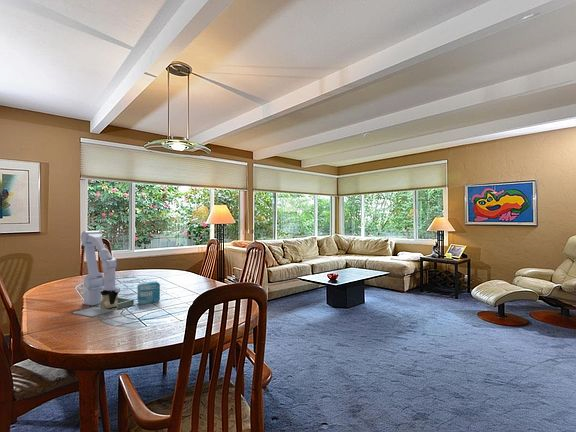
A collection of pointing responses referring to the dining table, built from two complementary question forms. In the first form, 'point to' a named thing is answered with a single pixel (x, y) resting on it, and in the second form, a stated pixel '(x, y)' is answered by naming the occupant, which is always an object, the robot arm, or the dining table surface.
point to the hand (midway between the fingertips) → (109, 303)
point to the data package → (148, 292)
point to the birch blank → (108, 302)
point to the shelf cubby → (123, 302)
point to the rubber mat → (92, 311)
